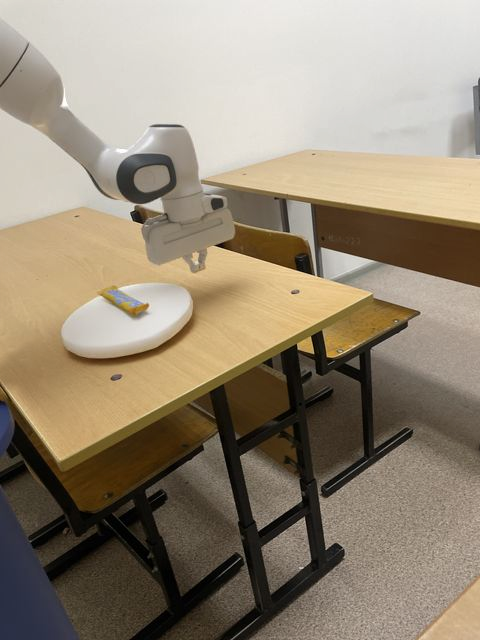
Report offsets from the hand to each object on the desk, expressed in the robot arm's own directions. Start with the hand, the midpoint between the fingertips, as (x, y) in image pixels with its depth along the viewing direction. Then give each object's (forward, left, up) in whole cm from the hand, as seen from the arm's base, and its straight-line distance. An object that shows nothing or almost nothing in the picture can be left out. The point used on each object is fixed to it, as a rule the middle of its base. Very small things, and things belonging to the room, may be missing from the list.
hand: (198, 270), depth 115 cm
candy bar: (-18, 0, -1) cm, 18 cm away
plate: (-18, 0, -7) cm, 19 cm away
